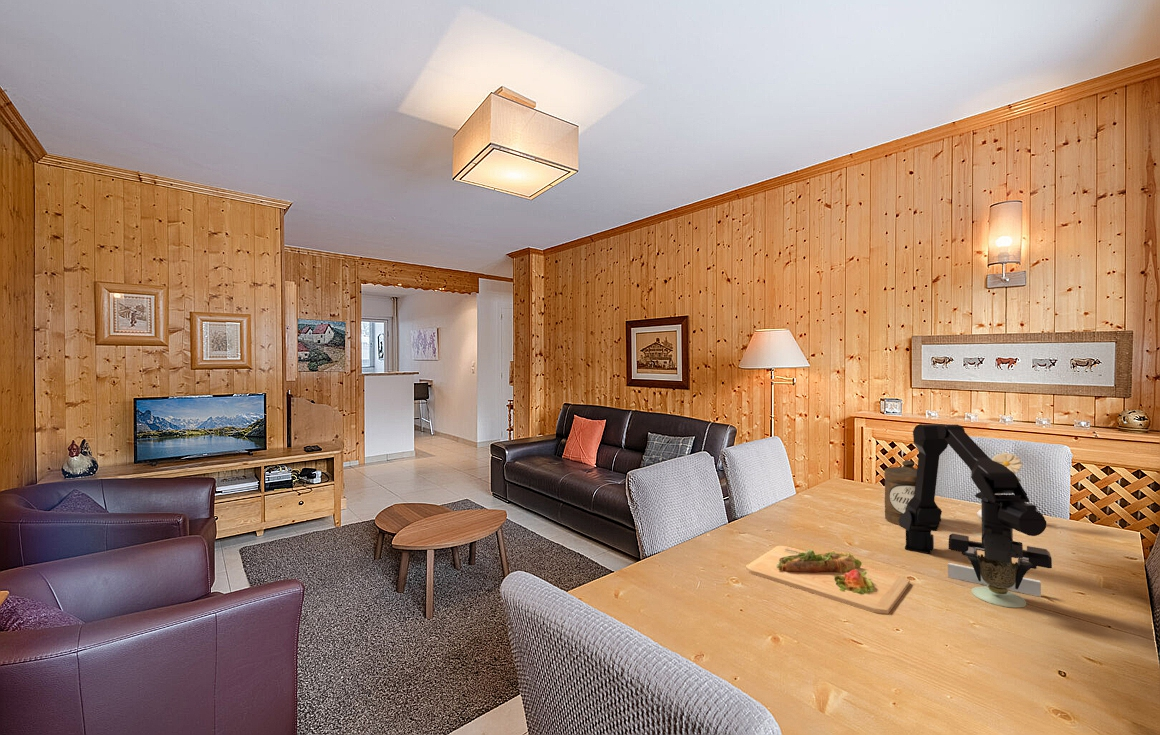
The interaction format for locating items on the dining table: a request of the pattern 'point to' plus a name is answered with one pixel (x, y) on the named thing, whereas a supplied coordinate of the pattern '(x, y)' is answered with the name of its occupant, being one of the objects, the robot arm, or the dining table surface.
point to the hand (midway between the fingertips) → (997, 584)
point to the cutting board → (831, 577)
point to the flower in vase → (1009, 462)
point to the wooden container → (899, 490)
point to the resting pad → (999, 598)
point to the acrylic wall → (969, 575)
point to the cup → (998, 574)
